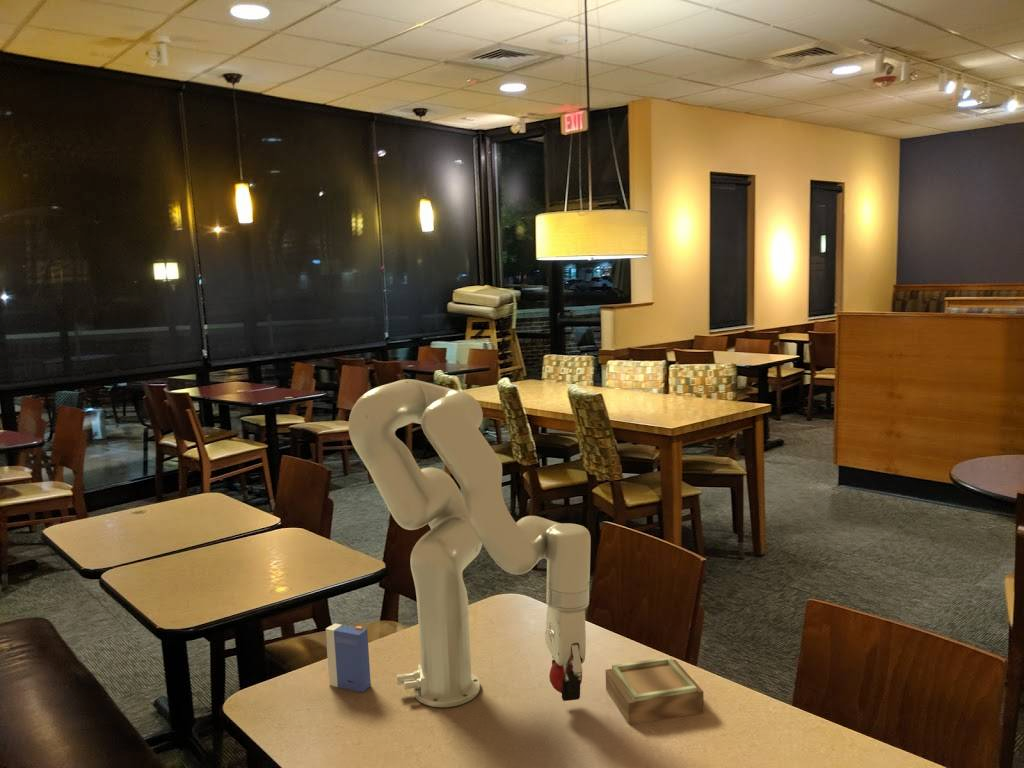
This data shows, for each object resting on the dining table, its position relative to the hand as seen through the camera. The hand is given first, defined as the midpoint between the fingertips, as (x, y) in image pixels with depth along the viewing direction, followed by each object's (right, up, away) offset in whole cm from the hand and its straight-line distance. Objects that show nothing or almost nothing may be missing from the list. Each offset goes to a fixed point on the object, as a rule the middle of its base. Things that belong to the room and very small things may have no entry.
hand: (565, 688), depth 142 cm
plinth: (+16, -3, +2) cm, 17 cm away
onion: (0, -1, 0) cm, 1 cm away
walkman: (-41, -4, +11) cm, 43 cm away
